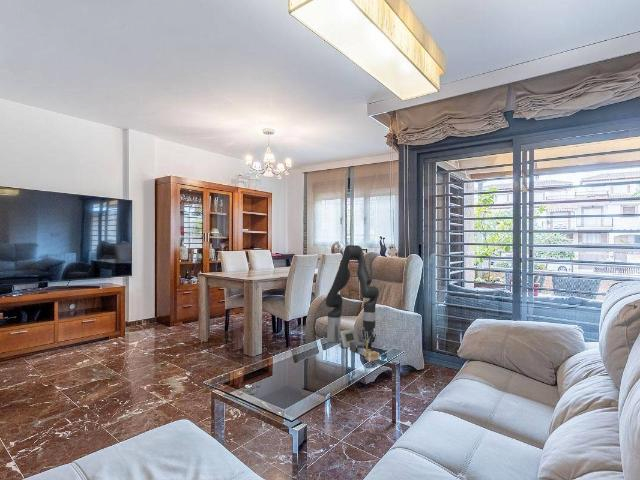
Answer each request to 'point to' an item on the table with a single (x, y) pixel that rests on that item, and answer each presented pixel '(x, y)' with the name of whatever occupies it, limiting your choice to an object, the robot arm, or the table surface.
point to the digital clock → (348, 337)
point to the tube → (362, 350)
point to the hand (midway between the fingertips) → (368, 348)
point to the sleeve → (353, 346)
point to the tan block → (371, 355)
